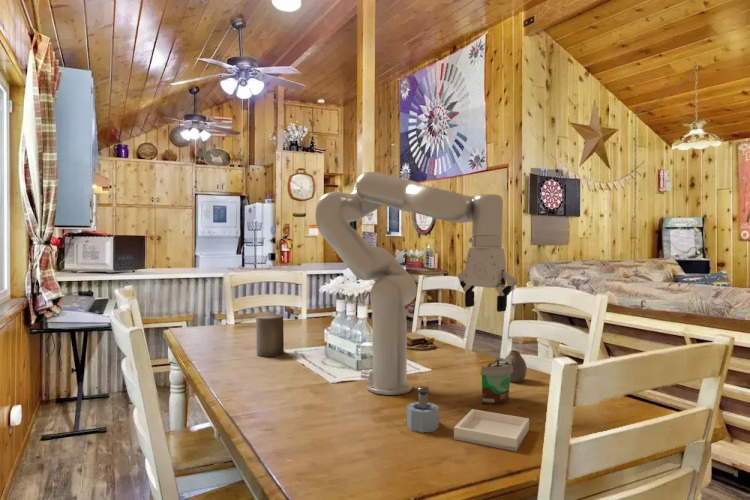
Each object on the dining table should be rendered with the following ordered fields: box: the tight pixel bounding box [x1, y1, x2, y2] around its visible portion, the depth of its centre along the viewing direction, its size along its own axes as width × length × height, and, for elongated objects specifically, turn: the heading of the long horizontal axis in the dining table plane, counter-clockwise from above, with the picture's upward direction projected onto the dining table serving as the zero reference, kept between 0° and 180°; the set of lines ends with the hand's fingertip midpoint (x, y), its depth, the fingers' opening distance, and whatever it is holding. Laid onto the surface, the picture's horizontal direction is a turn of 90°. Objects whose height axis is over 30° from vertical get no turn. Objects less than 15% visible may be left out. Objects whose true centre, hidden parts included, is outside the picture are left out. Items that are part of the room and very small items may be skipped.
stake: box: [416, 385, 430, 410], centre depth 116 cm, size 3×3×9 cm
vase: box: [505, 350, 528, 383], centre depth 153 cm, size 7×7×9 cm
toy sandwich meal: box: [407, 332, 436, 351], centre depth 198 cm, size 12×14×5 cm
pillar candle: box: [255, 313, 285, 358], centre depth 185 cm, size 10×10×15 cm
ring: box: [406, 401, 440, 434], centre depth 116 cm, size 7×8×4 cm
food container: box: [480, 356, 513, 406], centre depth 134 cm, size 12×6×10 cm, turn 148°
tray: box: [453, 408, 530, 452], centre depth 111 cm, size 13×13×2 cm
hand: (485, 308), depth 133 cm, fingers open, 9 cm apart
